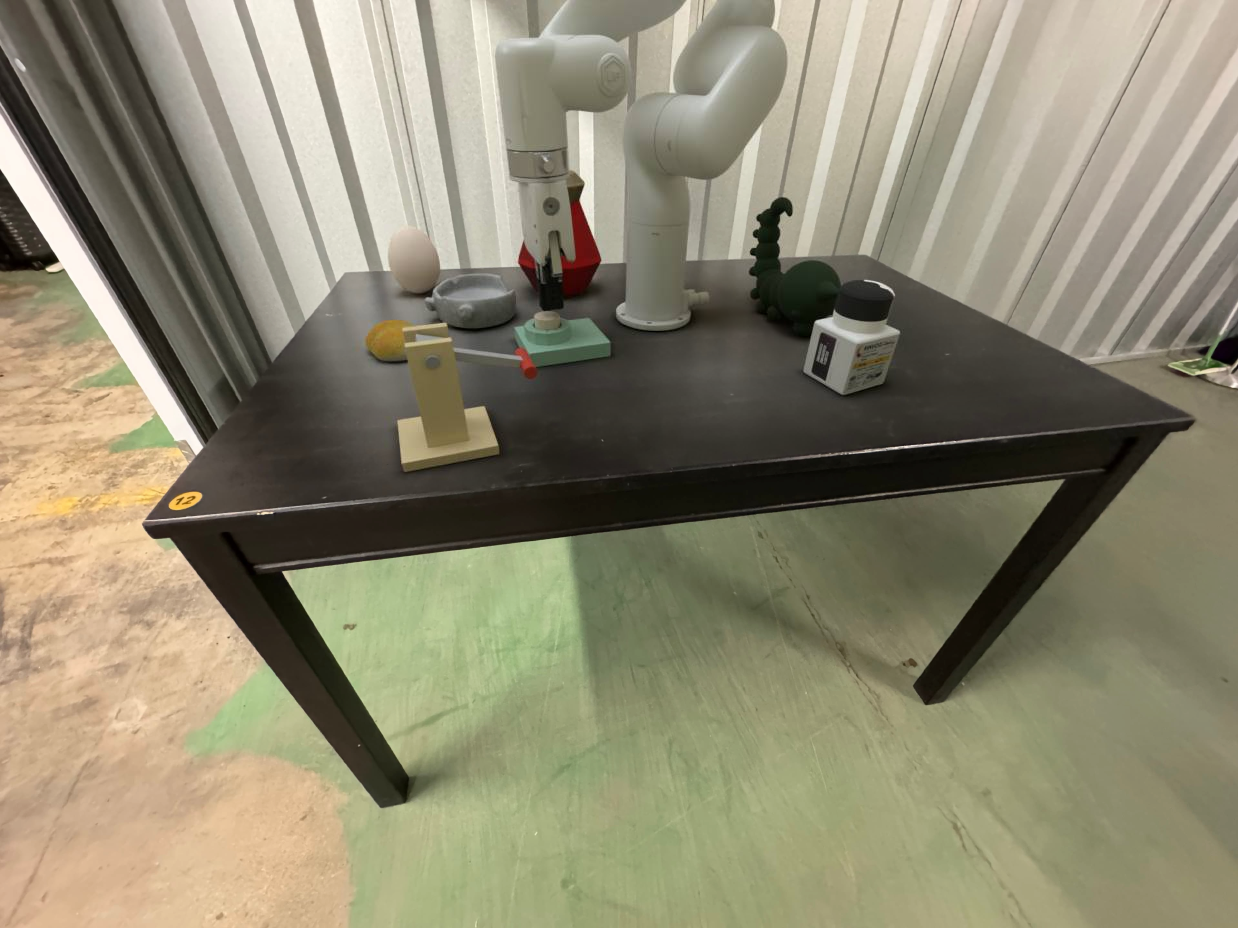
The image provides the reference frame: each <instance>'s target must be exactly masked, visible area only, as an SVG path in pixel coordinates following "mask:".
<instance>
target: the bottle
mask: <svg viewBox="0 0 1238 928" xmlns="http://www.w3.org/2000/svg"><path fill="white" fill-rule="evenodd" d="M569 170H570V177H569V178H568V179H565V180H566V185H567V190H568V196H569V202H570V209H571V218H572V227H573V237H574V247H575V260H574V262H572V263H570V262H569V261H567V259H566V258H565V257H564V256H563V255H562V254H561V265H562V272H563V276H562V288H563V299H564V298H571V297H575V296H580V295H582V294H584V293H586V291H587V290H588V288H589V285H590V284H591V282H592V281H593V278H594V276H595V274H596V272H597V270H598V268H599V266H600V264H602V257H601V254H600V251H599V248H598V246H597V242H596V240H595V237H594V235H593V232H592V230H591V228H590V227H591V226H590V224H589V222H588V219H587V216H586V215H585V212H584V209H583V206H582V203H581V201H580V199H581V196H582V194H583V191H584V188H585V185H586V183H585V181H584V180H583V179H582V178H581V176H580V175H579V174H578V173H576V171H575V170H573V169H569ZM517 264H518V266H519V267H520V269H521V271H522V272H523V274H525V277H526V278H527V279H528V282H529V284H530V285H531V286H532V288H533V289H534V291H535V293H536V294H537V295H538V287H537V280H541V279H538V278H537V274H536V267H535V260H534V258H533V257H532V255H531V254H530V253H529V252H528V250H527V248H526V246H525V242H524V239H523V241H522V243H521V247H520V250H519V254H518V259H517Z"/></svg>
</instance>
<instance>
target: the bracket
mask: <svg viewBox="0 0 1238 928" xmlns="http://www.w3.org/2000/svg"><path fill="white" fill-rule="evenodd" d="M448 327H449V326H448V324H447V323H445V322H440V323H431V324H430V323H429V324H422V325H414V326H413V327H405V328H402V331H403V336H404V340H405V343H404V345H405V350H406V355H407V359H408V360H407V363H408V367H409V372H410V376H411V380H412V385H413V389H414V394H415V398H416V402H417V406H418V411H419V415H420V416H414V417H410V418H409V417H407V418H402V419H397V430H398V441H399V451H400V461H401V466H402V470H403V473H408V472H413V471H418V470H423V469H429V468H435V467H440V466H444V465H449V464H455V463H456V464H457V463H460V462H465V461H472V460H475V459H481V458H487V457H492V456H497V455H500V446H499V443H498V440H497V438H496V435H495V431H494V429H493V426H492V423H491V420H490V417H489V414H488V412H487V409H486V406H485V405H482V406H476V407H470V408H465V405H464V401H463V400H464V399H463V394H462V389H461V384H460V377H459V372H458V366H457V361H456V359H455V354H454V348H455V347H454V343H453V339H452V337H451V336H450V332H449V328H448ZM416 334H420V335H427V336H434V337H441V338H442V339H434V340H426V341H418V342H415V336H416ZM453 347H454V348H453Z"/></svg>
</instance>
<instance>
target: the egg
mask: <svg viewBox="0 0 1238 928" xmlns="http://www.w3.org/2000/svg"><path fill="white" fill-rule="evenodd" d="M440 261H441V260H440V256H439V253H438V251H437V248H436V247H435V245H434V244H433V242H432V240H431V239H430V238H429V236H428V235H427V234H426V233H424V232H423V231H422V230H421V229H419V228H418V227H415V226H412V225H406V226H402V227H400V228H399V229H397V231H395V232H394V233H393V234H392V236H391V238H390V241H389V246H388V249H387V262H388V267H389V270H390V273H391V275H392V277H393V278H394V280H395V281H396V282H397V284H398V285H399V286H401V287H402V288H403V289H405V290H406V291H408V292H411V293H414V294H424V293H427V292H429V291H430V290H432V288H434V287H435V285H436V283H437V282H438V280H439V278H440V274H441V262H440Z"/></svg>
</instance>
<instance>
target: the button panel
mask: <svg viewBox="0 0 1238 928" xmlns="http://www.w3.org/2000/svg"><path fill="white" fill-rule="evenodd" d="M559 318H560V327H559V328H557V329H554V330H539V329H536V328H535V320H534V317H533V318H530V319H528V320H526V322H525V323H524V324H523V325H522V326H521V325H520V326H514V327H513V329H514V338H515V339H514V340H515V343H516V345H518V348H524V349H525V350H526V351H527V353H528V355H529V357H530V358H531V360H532V362H533V364H534V365H535V367H536V368H540V367H546V366H553V365H558V364H566V363H573V362H580V361H587V360H594V359H600V358H606V357H607V358H608V357H611V349H612V348H611V341H610V340H609V338H607V336H606V335H605V334H604V333H603V332H602V330H600V329H599V327H598V326H597V325H596V324H595V323H594V322H593V320H592V319H591V318H590V317H584V318H576V319H566V318H563V317H560V316H559Z"/></svg>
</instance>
